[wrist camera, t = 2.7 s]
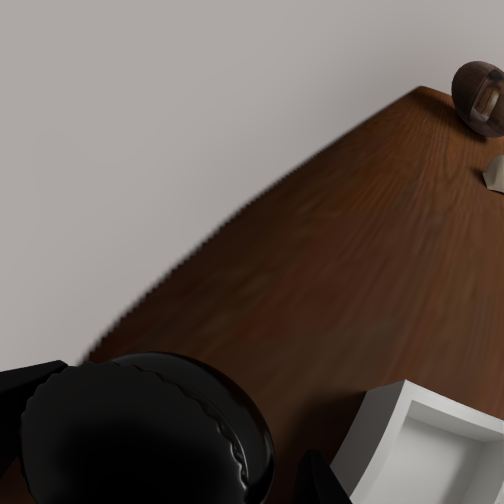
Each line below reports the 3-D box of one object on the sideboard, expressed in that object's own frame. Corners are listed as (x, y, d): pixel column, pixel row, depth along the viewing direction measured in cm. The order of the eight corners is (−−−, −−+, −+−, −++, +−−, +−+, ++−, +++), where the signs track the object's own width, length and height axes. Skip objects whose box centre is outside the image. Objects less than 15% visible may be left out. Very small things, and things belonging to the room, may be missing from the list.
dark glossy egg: (460, 107, 44) (482, 55, 31) (507, 151, 37) (537, 99, 24) (427, 103, 40) (452, 39, 28) (485, 155, 33) (521, 88, 20)
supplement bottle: (138, 481, 11) (2, 542, 1) (137, 376, 15) (0, 293, 5) (257, 488, 12) (307, 606, 2) (252, 380, 15) (294, 305, 5)
